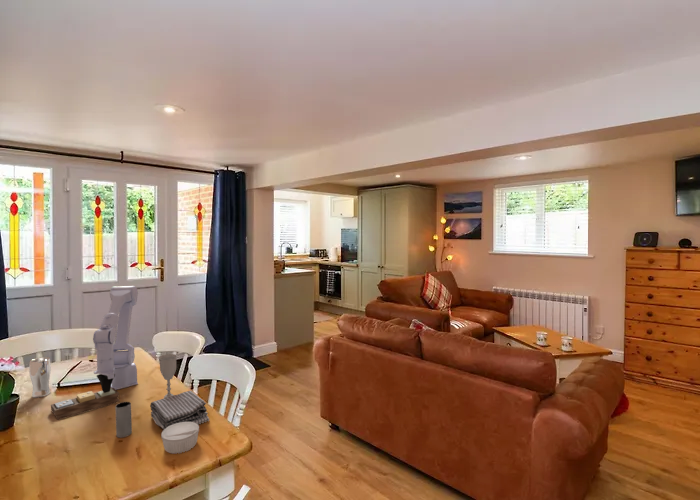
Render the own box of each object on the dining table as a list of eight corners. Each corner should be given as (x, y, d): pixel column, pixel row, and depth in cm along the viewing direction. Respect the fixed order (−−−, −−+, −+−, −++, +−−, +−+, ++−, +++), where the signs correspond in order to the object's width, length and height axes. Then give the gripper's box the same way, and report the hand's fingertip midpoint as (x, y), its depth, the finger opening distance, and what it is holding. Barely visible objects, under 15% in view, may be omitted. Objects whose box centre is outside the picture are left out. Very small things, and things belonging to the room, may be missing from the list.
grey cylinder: (115, 439, 128) (114, 408, 128) (116, 432, 132) (115, 403, 132) (131, 435, 130) (130, 405, 130) (132, 429, 134) (131, 400, 134)
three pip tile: (70, 404, 150) (70, 398, 150) (74, 408, 147) (73, 402, 147) (54, 408, 147) (54, 402, 147) (57, 412, 143) (57, 407, 143)
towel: (190, 406, 153) (190, 386, 153) (210, 422, 140) (210, 401, 139) (148, 418, 142) (148, 398, 142) (166, 438, 129) (166, 415, 129)
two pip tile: (91, 395, 156) (91, 390, 155) (95, 399, 152) (95, 394, 152) (76, 399, 152) (76, 394, 152) (80, 403, 148) (79, 398, 148)
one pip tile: (111, 393, 161) (111, 387, 161) (115, 396, 157) (115, 391, 157) (97, 396, 157) (97, 391, 157) (101, 400, 154) (101, 395, 154)
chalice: (155, 402, 155) (154, 358, 154) (169, 395, 161) (168, 353, 160) (169, 405, 152) (168, 360, 151) (182, 398, 159) (181, 355, 158)
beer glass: (56, 391, 166) (54, 356, 165) (41, 398, 159) (40, 362, 158) (41, 390, 166) (39, 356, 165) (26, 397, 159) (24, 361, 159)
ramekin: (175, 460, 117) (175, 443, 116) (153, 449, 123) (153, 433, 122) (206, 443, 126) (206, 427, 126) (185, 433, 132) (185, 418, 132)
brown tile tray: (112, 393, 164) (111, 386, 163) (120, 401, 156) (120, 394, 156) (50, 410, 148) (49, 402, 148) (56, 420, 141) (56, 412, 141)
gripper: (88, 356, 158) (89, 389, 159) (99, 365, 148) (100, 400, 149) (108, 352, 163) (109, 384, 164) (119, 360, 154) (120, 394, 154)
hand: (106, 391), depth 157 cm, fingers closed, pressing on one pip tile
